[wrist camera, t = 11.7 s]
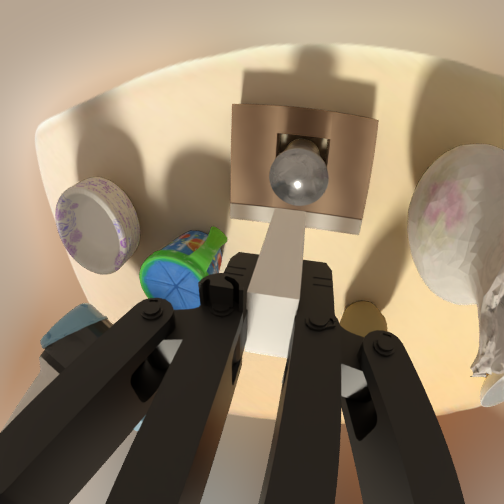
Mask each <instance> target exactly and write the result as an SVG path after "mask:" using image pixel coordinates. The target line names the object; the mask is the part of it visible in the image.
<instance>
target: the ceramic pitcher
mask: <svg viewBox="0 0 504 504" xmlns="http://www.w3.org/2000/svg"><path fill="white" fill-rule="evenodd" d="M407 231H408V239H409V244H410V249H411V254H412V257H413V261H414V263H415V266H416V268H417V270H418V272H419V274H420V276H421V278H422V279H423V281H424V283H425V284H426V285H427V286H428V288H429V289H430V290H431V291H432V292H433V293H434V294H436V295H437V296H439V297H440V298H442V299H443V300H445V301H448V302H451V303H454V304H458V305H473V304H477V307H478V318H479V333H480V334H479V350H478V354H477V357H476V359H475V360H474V362H473V364H472V365H471V367H470V368H471V369H472V371H473V372H474V373H473V375H472V376H470V377H485V378H486V373H488V374H491V375H492V372H493V373H496V374H503V373H504V150H503V149H501V148H498V147H496V146H493V145H490V144H467V145H461V146H457V147H455V148H453V149H451V150H449V151H447V152H446V153H444V154H443V155H441V156H440V157H439V158H438V159H437V160H436V161H434V162H433V164H432V165H431V166H430V167H429V168H428V169H427V171H426V172H425V173H424V174H423V176H422V177H421V179H420V181H419V182H418V185H417V187H416V189H415V191H414V194H413V196H412V199H411V202H410V206H409V211H408V227H407Z"/></svg>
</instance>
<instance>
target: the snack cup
mask: <svg viewBox="0 0 504 504" xmlns="http://www.w3.org/2000/svg"><path fill="white" fill-rule="evenodd" d="M226 242H227V237H226V236H225V234H224V233H223V232H221V231H220V230H219V229H218V228H216V227H214V226H212V227H211V228H210V232H209V235H208V234H206V233H203V232H200V231H188V232H186V233H184V234H182V235H181V236H179V237H178V238H177V239H175V240H174V241H172V242H171V243H170V244H168V245H167V246H166V247H164V248H163V249H161V250H159V251H156V252H154V253H153V254H152V255H150V256H149V257H148V258H147V259H146V260H145V261H144V263H143V264H142V266H141V269H140V274H139V278H140V283H141V286H142V289H143V291H144V293H145V294H146V296H147V297H148V299H149V298H162V299H166V300H167V301H168V302H170V303H171V305H172V307H173V309H174V310H179V309H193V308H197V307H199V306H200V297H199V287H198V282H199V281H200V280H201V279H202V278H204V277H206V276H208V275H210V274H215V273H219V270H220V266H221V262H222V253H221V249H220V247H221V246H222V245H223V244H225V243H226Z"/></svg>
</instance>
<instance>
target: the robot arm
mask: <svg viewBox="0 0 504 504" xmlns="http://www.w3.org/2000/svg"><path fill="white" fill-rule="evenodd" d="M305 217H306V211H298V210H290V209H282V208H275V210H274V213H273V216H272V219H271V222H270V225H269V228H268V231H267V234H266V237H265V240H264V243H263V246H262V249H261V252H260V255H257V254H250V253H242V252H239V253H237V254H236V255H234V256H233V257H232V258H231V259H230V261H229V263H228V265H227V267H226V269H225V271H224V273H215V274H210V275H208V276H206V277H204V278H202V279H201V280H200V281H199V282H198V287H199V297H200V306H199V307H197V308H193V309H179V310H174V309H173V307H172V305H171V303H170V302H168V301H167V300H166V299H162V298H149V299H145V300H143V301H141V302H139V303H138V304H136V305H135V306H134V307H133V308H132V309H131V310H130V311H128V312H127V313H126V314H125V315H124V316H123V317H122V318H120V319H119V320H118V321H117V322H116V323H115V324H114V325H113V324H112V323H111V322H110V321H109V320H108V318H107V317H106V316H104V315H102V314H101V313H100V312H99V311H98V310H97V309H96V308H95V307H93V306H92V305H91V304H88V303H82V304H80V305H78V306H76V307H75V308H74V309H72V310H71V311H70V312H69V313H67V314H66V315H65V316H64V317H63V318H61V319H60V320H59V321H58V322H57V323H56V324H55V325H54V326H53V327H52V328H51V329H50V331H48V332H47V334H45V335H44V336H43V338H42V339H41V345H42V348H43V349H45V350H44V352H43V353H42V354H41V356H40V357H39V360H40V368H41V370H40V373H39V375H38V376H37V377H36V379H35V380H34V382H33V383H32V385H31V386H30V388H29V389H28V390H27V392H26V394H25V395H24V397H23V398H22V399H21V401H20V403H19V404H18V405H17V407H16V409H15V410H14V412H13V414H12V415H11V417H10V418H9V420H8V422H7V423H6V425H5V426H4V428H3V430H2V431H1V433H0V504H69V503H70V501H71V500H72V499H73V498H74V497H75V496H76V495H77V494H78V493H79V491H80V490H81V489H82V488H83V487H84V486H85V485H86V484H87V482H88V481H89V480H90V479H91V478H92V477H93V476H94V475H95V473H96V472H97V471H98V470H99V469H100V468H101V466H102V465H103V464H104V463H105V462H106V461H107V460H108V458H109V457H110V456H111V455H112V454H113V453H114V451H115V450H116V449H117V448H118V447H119V445H121V443H122V442H123V441H124V440H125V439H126V438H127V436H128V435H129V434H130V433H131V432H132V430H136V431H138V432H137V435H136V437H135V439H134V441H133V443H132V445H131V448H130V450H129V452H128V454H127V456H126V458H125V461H124V463H123V465H122V468H121V470H120V472H119V474H118V476H117V478H116V481H115V483H114V485H113V487H112V490H111V492H110V494H109V497H108V499H107V501H106V504H200V502H201V499H202V496H203V492H204V489H205V486H206V483H207V480H208V477H209V474H210V470H211V467H212V464H213V461H214V457H215V454H216V451H217V448H218V444H219V441H220V438H221V434H222V431H223V427H224V424H225V421H226V418H227V414H228V411H229V408H230V404H231V401H232V397H233V394H234V390H235V387H236V383H237V380H238V376H239V373H240V369H241V366H242V354H243V351H244V347H245V352H251V353H256V354H263V355H269V356H275V357H282V358H287V362H286V367H285V371H284V375H283V380H282V389H281V395H280V401H279V407H278V412H277V418H276V424H275V429H274V434H273V439H272V444H271V450H270V454H269V459H268V464H267V469H266V473H265V477H264V482H263V486H262V491H261V495H260V499H259V504H335V496H336V487H337V476H338V465H339V451H340V432H341V408H342V412H343V416H344V420H345V424H346V428H347V432H348V436H349V440H350V444H351V448H352V453H353V457H354V462H355V466H356V470H357V475H358V480H359V485H360V489H361V494H362V500H363V504H465V502H464V498H463V494H462V491H461V487H460V483H459V480H458V477H457V473H456V470H455V467H454V464H453V461H452V458H451V455H450V452H449V450H448V446H447V444H446V441H445V438H444V435H443V433H442V430H441V428H440V425H439V423H438V420H437V418H436V415H435V413H434V410H433V408H432V405H431V403H430V401H429V398H428V396H427V394H426V392H425V389H424V387H423V385H422V383H421V380H420V378H419V376H418V374H417V372H416V370H415V368H414V366H413V364H412V361H411V359H410V357H409V355H408V353H407V351H406V349H405V347H404V345H403V343H402V342H401V341H400V339H399V338H398V337H396V336H395V335H394V334H392V333H390V332H387V331H384V330H375V331H372V332H369V333H368V334H367V335H366V336H365V337H362V336H359V335H356V334H354V333H351V332H349V331H347V330H346V329H344V328H343V327H342V326H341V325H340V324H339V321H338V319H337V318H336V317H335V312H334V295H333V281H332V270H331V269H330V268H329V266H328V265H327V263H323V262H316V261H308V260H303V250H304V235H305Z"/></svg>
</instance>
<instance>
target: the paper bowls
mask: <svg viewBox="0 0 504 504" xmlns="http://www.w3.org/2000/svg"><path fill="white" fill-rule="evenodd" d="M56 225H57V229H58V232H59V235H60V238H61V240H62V242H63V244H64V246H65V248H66V249H67V251H68V252H69V254H70V255H71V256H72V257H73V258H74V259H75V260H76V261H77V262H78V263H79V264H80V265H81V266H83V267H84V268H86V269H87V270H89V271H92V272H94V273H97V274H111V273H114V272H116V271H117V270H118V269H120V267H121V266H122V265H123V264H124V263H125V262H126V261H127V260H128V259H129V258H130V257H131V256H132V254H133V253H134V252H135V250H136V249H137V247H138V244H139V240H140V225H139V221H138V217H137V214H136V211H135V209H134V206H133V205H132V203H131V201H130V199H129V198H128V196H127V195H126V194H125V192H124V191H122V190H121V189H120V188H119V187H118V186H117V185H116V184H114V183H113V182H111V181H109V180H107V179H105V178H102V177H91V178H88V179H85V180H83V181H81V182H79V183H77V184H76V185H74V186H72V187H70V188H68V189H67V190H66V191H65V192H64V193H63V194H62V195H61V196H60V198H59V200H58V202H57V206H56Z"/></svg>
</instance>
